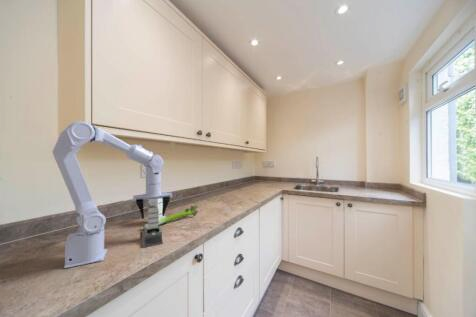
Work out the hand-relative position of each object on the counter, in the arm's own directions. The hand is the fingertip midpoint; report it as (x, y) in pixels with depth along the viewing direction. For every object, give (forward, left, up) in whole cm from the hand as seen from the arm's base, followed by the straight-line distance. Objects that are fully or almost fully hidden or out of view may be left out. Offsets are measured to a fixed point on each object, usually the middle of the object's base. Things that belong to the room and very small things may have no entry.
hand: (153, 216), depth 75 cm
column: (0, 0, -5) cm, 5 cm away
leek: (+10, +17, -9) cm, 22 cm away
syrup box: (+3, +20, -9) cm, 22 cm away
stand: (-1, +1, -9) cm, 9 cm away
